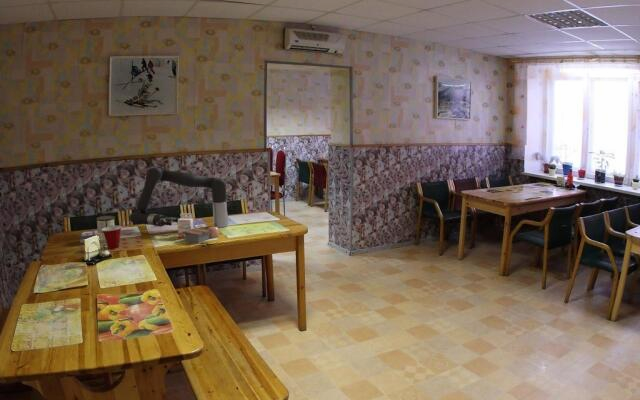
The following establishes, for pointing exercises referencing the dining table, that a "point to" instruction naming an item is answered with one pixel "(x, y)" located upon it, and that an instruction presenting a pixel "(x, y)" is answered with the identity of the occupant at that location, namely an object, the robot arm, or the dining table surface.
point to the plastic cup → (112, 236)
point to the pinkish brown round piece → (213, 232)
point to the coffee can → (104, 225)
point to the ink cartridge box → (184, 223)
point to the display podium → (196, 235)
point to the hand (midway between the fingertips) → (176, 222)
